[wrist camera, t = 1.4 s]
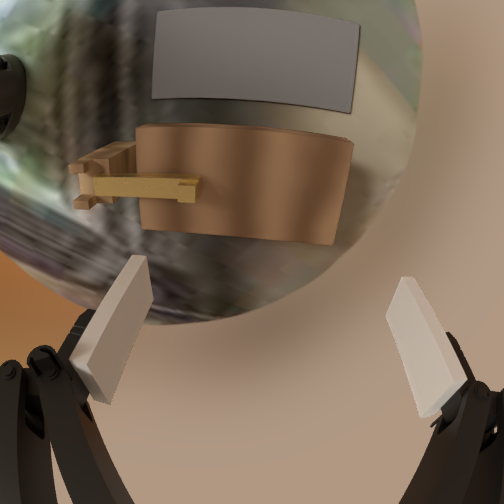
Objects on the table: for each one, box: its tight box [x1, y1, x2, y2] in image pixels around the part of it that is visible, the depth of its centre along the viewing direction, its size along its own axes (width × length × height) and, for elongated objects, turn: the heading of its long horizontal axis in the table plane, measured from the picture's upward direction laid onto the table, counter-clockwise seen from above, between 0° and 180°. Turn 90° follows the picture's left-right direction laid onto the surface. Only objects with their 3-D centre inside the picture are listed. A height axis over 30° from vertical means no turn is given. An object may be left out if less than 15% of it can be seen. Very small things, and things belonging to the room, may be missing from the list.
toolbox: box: [68, 141, 137, 210], centre depth 30 cm, size 28×8×11 cm, turn 86°
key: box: [93, 173, 202, 203], centre depth 26 cm, size 11×2×3 cm, turn 86°
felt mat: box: [152, 7, 360, 113], centre depth 28 cm, size 24×12×1 cm, turn 86°
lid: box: [135, 123, 354, 246], centre depth 29 cm, size 21×11×4 cm, turn 86°
